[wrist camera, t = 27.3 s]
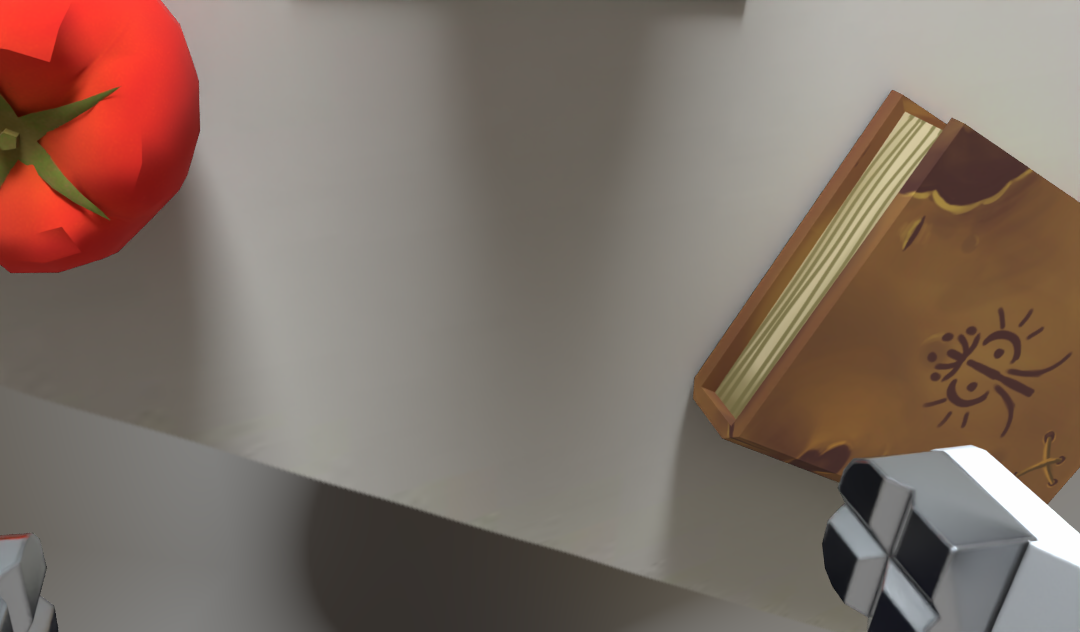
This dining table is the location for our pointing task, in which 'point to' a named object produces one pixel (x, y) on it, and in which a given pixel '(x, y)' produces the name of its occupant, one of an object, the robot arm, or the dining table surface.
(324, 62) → the dining table surface
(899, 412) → the diary
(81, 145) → the tomato
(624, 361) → the dining table surface
